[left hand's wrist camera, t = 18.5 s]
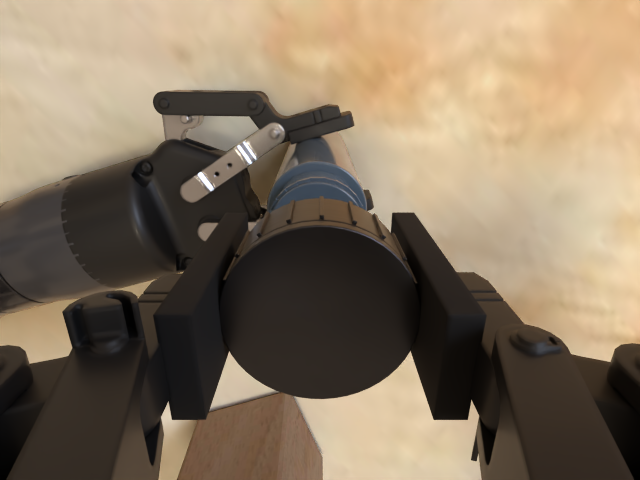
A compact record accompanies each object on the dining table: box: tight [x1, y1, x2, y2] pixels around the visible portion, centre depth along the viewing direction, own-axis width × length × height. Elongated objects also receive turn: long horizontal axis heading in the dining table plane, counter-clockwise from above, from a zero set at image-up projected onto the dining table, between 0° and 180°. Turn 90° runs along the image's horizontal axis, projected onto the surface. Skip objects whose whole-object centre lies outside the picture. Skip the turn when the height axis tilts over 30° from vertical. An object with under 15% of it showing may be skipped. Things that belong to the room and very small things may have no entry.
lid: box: [219, 196, 421, 399], centre depth 11 cm, size 5×5×2 cm
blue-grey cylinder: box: [267, 131, 367, 213], centre depth 23 cm, size 4×4×16 cm
